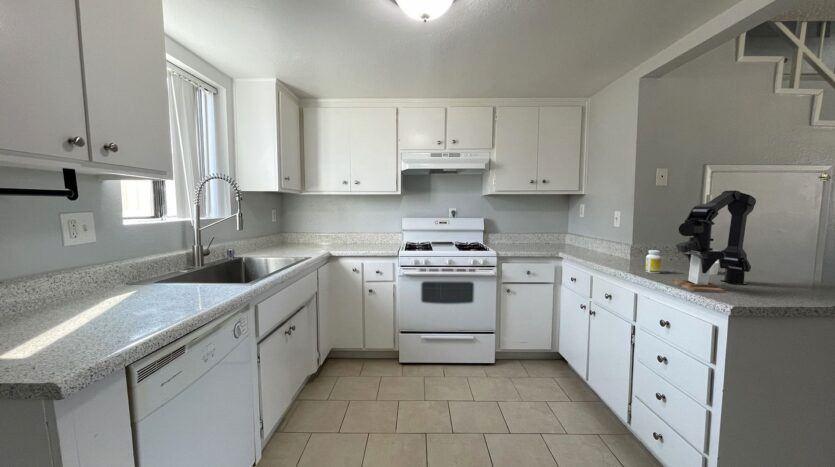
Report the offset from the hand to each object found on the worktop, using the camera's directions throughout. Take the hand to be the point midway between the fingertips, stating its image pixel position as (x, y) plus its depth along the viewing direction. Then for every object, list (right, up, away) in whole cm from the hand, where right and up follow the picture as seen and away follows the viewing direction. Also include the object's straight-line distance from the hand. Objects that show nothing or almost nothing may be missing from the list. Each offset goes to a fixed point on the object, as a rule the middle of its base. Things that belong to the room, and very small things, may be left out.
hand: (698, 271), depth 133 cm
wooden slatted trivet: (0, -7, +1) cm, 7 cm away
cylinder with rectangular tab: (+31, -5, +30) cm, 43 cm away
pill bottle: (+3, -4, +31) cm, 31 cm away
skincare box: (0, -5, +1) cm, 5 cm away
